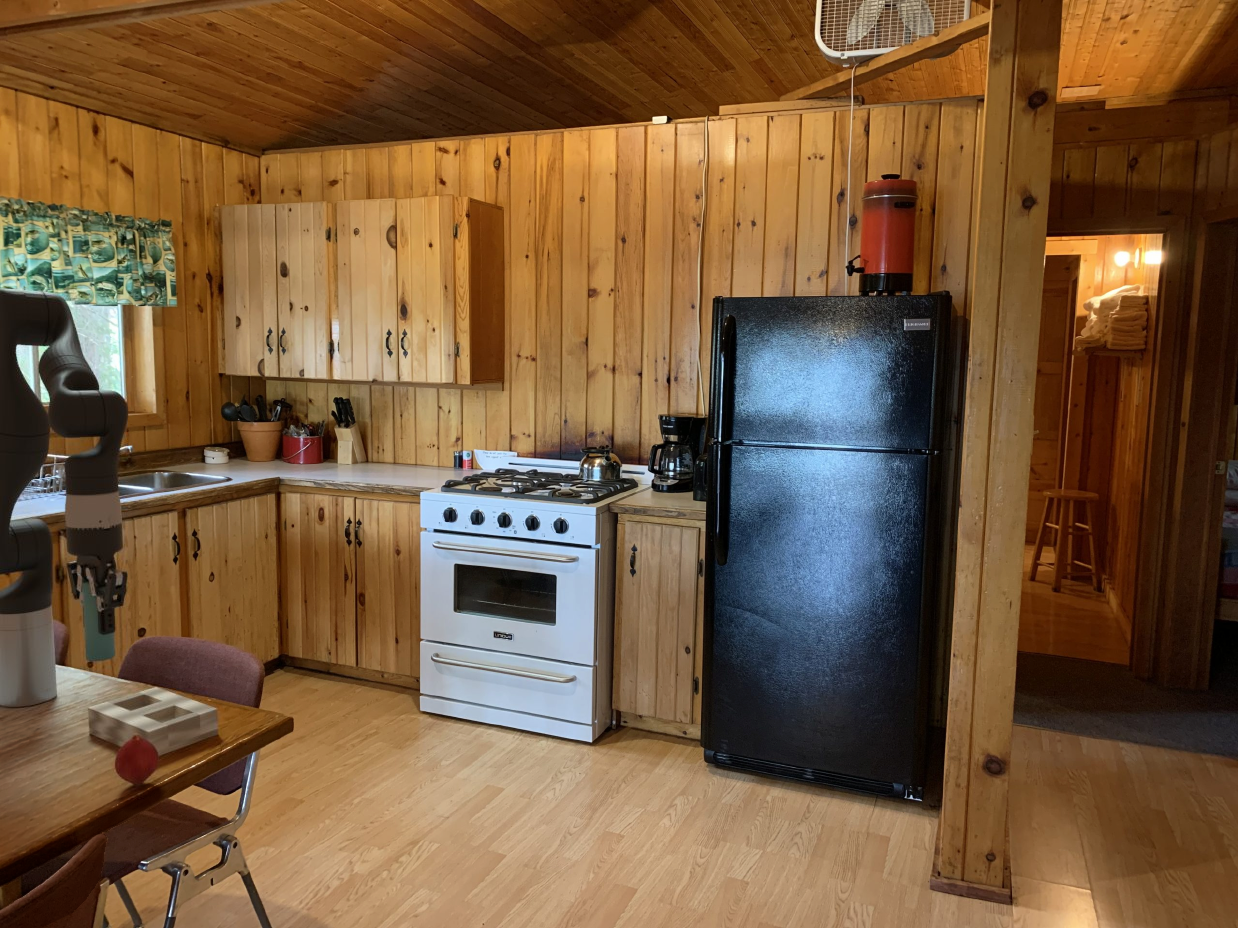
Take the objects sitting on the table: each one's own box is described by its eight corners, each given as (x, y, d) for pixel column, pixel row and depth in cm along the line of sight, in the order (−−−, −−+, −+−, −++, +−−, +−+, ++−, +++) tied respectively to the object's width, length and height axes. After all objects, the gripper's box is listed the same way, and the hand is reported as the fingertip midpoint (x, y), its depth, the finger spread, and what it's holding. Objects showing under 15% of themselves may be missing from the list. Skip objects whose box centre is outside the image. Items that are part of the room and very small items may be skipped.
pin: (80, 657, 146) (76, 582, 145) (106, 651, 150) (103, 577, 148) (94, 662, 144) (90, 585, 143) (120, 656, 147) (116, 580, 146)
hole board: (89, 733, 159) (87, 707, 159) (157, 711, 169) (156, 686, 169) (150, 759, 150) (148, 731, 149) (218, 734, 159) (217, 708, 159)
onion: (110, 784, 141) (107, 732, 140) (151, 772, 145) (149, 722, 144) (123, 797, 137) (120, 744, 136) (165, 785, 141) (163, 733, 140)
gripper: (45, 519, 145) (51, 628, 147) (93, 530, 137) (98, 645, 139) (95, 513, 151) (100, 617, 153) (143, 523, 143) (148, 633, 145)
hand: (99, 630), depth 146 cm, fingers closed on pin, 4 cm apart
